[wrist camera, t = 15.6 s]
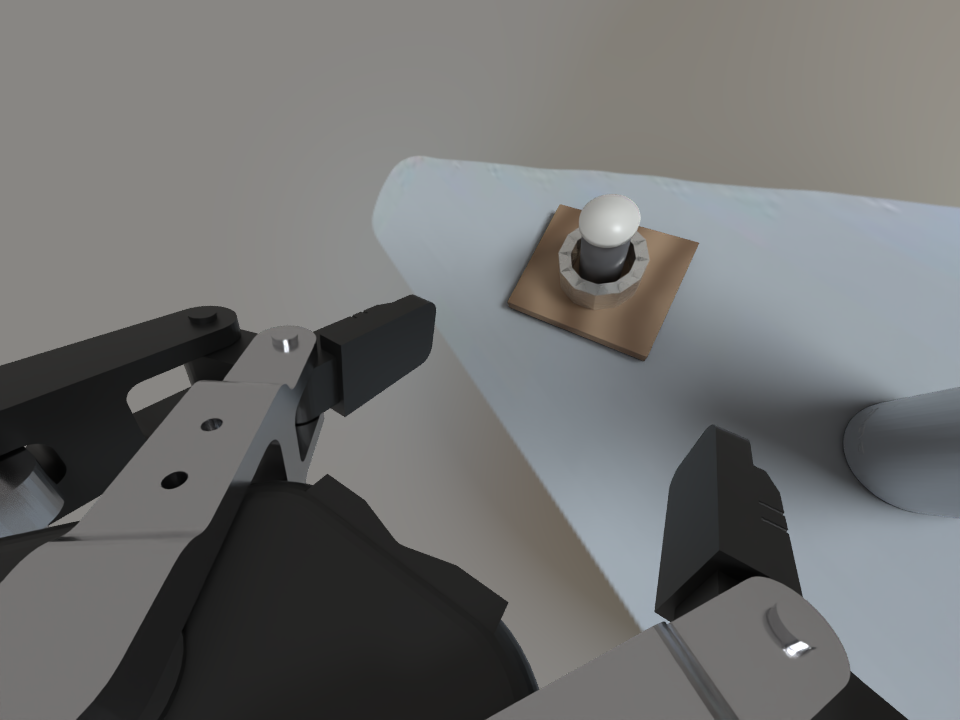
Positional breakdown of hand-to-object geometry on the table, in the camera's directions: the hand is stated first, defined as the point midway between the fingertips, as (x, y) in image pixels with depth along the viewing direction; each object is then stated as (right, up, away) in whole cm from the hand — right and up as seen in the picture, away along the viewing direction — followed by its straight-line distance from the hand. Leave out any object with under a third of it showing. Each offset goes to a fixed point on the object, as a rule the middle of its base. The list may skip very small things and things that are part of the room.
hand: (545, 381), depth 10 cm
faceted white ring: (+11, +10, +29) cm, 33 cm away
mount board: (+12, +10, +31) cm, 34 cm away
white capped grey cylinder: (+11, +10, +29) cm, 33 cm away
